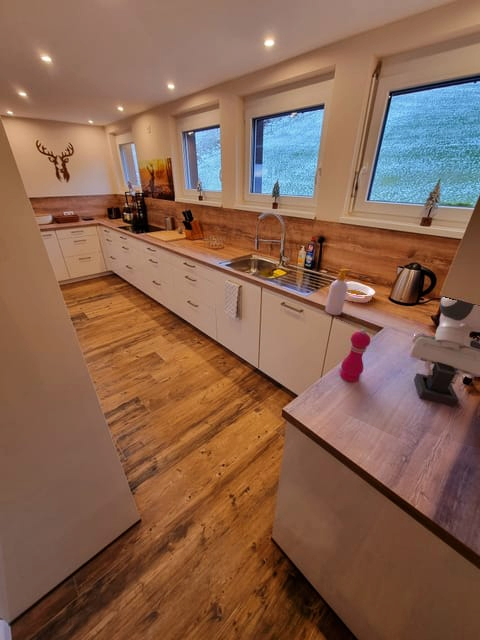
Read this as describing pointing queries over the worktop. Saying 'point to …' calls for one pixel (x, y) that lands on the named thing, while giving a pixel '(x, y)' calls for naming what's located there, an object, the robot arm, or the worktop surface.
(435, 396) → the base pad
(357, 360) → the pepper mill
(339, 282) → the soap bottle
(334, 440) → the worktop surface
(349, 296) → the white oval dish
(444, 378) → the dark grey block
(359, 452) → the worktop surface
